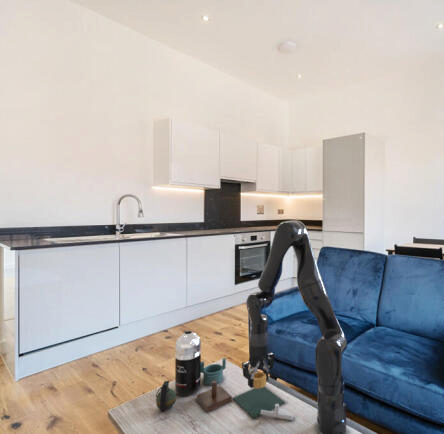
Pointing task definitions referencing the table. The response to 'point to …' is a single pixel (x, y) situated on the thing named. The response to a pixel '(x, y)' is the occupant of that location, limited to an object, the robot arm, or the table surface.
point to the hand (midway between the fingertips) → (258, 383)
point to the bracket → (213, 372)
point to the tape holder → (214, 397)
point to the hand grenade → (165, 397)
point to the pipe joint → (276, 413)
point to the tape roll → (259, 380)
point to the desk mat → (258, 401)
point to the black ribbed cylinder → (187, 364)
